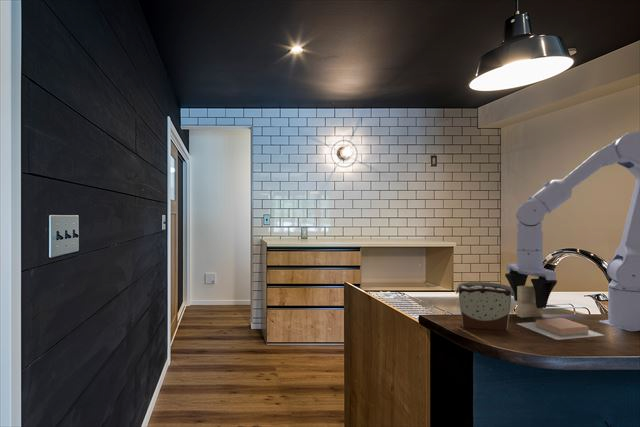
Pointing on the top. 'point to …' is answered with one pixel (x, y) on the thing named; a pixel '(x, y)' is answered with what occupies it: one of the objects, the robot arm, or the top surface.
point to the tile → (562, 327)
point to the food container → (485, 305)
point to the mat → (533, 327)
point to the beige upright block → (527, 302)
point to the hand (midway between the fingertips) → (529, 304)
